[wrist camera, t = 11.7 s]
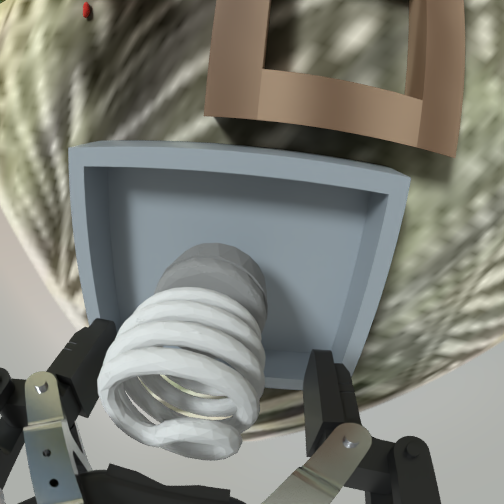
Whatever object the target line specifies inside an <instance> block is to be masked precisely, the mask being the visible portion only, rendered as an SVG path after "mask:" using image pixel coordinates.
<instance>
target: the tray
mask: <svg viewBox="0 0 504 504" xmlns="http://www.w3.org/2000/svg"><path fill="white" fill-rule="evenodd" d="M68 149H69V184H70V200H71V213H72V223H73V233H74V241H75V249H76V256H77V263H78V269H79V276H80V282H81V287H82V293H83V298H84V303H85V308H86V313H87V317H88V322H89V326H90V325H91V324H92V322H93V321H94V320H95V319H96V318H101V319H106V320H111V321H114V323H115V326H116V331H117V334H118V331H119V329H120V328H121V326H122V325H123V323H124V322H125V321H126V320H127V319H128V318H129V317H130V316H131V315H132V314H133V313H134V311H135V310H136V309H137V307H138V306H139V305H140V304H142V303H143V302H144V301H145V300H147V299H148V298H150V297H151V296H153V295H154V292H155V289H156V287H157V284H158V282H159V280H160V278H161V277H162V275H163V273H164V271H165V269H166V268H167V267H169V266H170V265H171V264H172V263H173V262H174V261H175V260H176V259H177V258H178V257H179V256H180V255H181V254H182V253H183V252H185V251H186V250H188V249H190V248H191V247H193V246H196V245H199V244H202V243H222V244H226V245H230V246H234V247H236V248H238V249H239V250H241V251H243V252H244V253H246V254H247V255H249V256H250V257H251V258H252V259H253V260H254V261H255V262H256V263H257V264H258V266H259V267H260V269H261V271H262V273H263V275H264V277H265V283H266V290H267V302H268V314H267V320H266V322H265V327H264V329H263V332H262V334H261V338H262V340H261V343H262V346H263V348H264V351H265V357H266V358H265V367H264V371H263V372H264V376H265V388H277V389H291V390H303V381H304V375H305V372H306V368H307V365H308V361H309V357H310V354H311V351H312V349H321V350H331V351H332V354H333V359H334V363H343V364H344V366H345V367H346V368H347V370H348V371H349V372H350V375H351V377H352V375H353V372H354V370H355V367H356V365H357V362H358V360H359V357H360V355H361V352H362V350H363V347H364V344H365V342H366V339H367V336H368V333H369V331H370V328H371V325H372V322H373V319H374V316H375V313H376V310H377V307H378V304H379V301H380V298H381V295H382V292H383V289H384V285H385V282H386V279H387V275H388V272H389V269H390V265H391V262H392V258H393V254H394V251H395V247H396V243H397V239H398V235H399V231H400V227H401V223H402V219H403V214H404V210H405V206H406V201H407V196H408V191H409V186H410V181H411V177H408V176H406V175H404V174H402V173H400V172H398V171H396V170H394V169H392V168H390V167H387V166H383V165H378V164H373V163H367V162H362V161H356V160H351V159H345V158H339V157H333V156H326V155H320V154H313V153H306V152H298V151H290V150H282V149H274V148H264V147H254V146H244V145H232V144H219V143H203V142H183V141H147V140H115V141H97V142H92V143H87V144H83V145H78V146H74V147H69V148H68ZM163 347H165V348H176V349H181V348H180V347H178V346H163ZM215 360H217V361H220V362H222V363H224V364H226V365H227V366H229V367H231V368H233V367H232V366H231V365H230V364H228V363H227V362H226V361H224V360H222V359H215ZM233 369H234V368H233ZM234 370H236V369H234ZM236 371H237V370H236Z"/></svg>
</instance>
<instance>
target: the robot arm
mask: <svg viewBox="0 0 504 504" xmlns="http://www.w3.org/2000/svg"><path fill="white" fill-rule="evenodd" d="M116 336H117V331H116V326H115V323H114V321H111V320H106V319H101V318H96V319H95V320H94V321H93V322H92V324H91V325H90V326H89V327H88V328H87V327H84V328H82V329H81V330H79V331H78V332H76V333H75V334H74V335H73V337H72V338H71V339H70V341H69V343H67V344H66V346H65V348H64V349H63V350H62V351H61V352H60V354H59V355H58V356H57V358H56V359H55V360H54V362H53V363H52V364H51V366H50V367H49V368H48V370H47V371H46V372H44V371H42V372H37V373H34V374H33V375H31V376H30V377H29V378H28V379H27V380H22V379H11V377H10V375H9V373H8V371H6V370H5V369H3V368H0V414H1V416H2V417H1V419H0V504H6V503H5V502H4V494H3V491H2V490H3V487H4V485H5V483H6V481H7V478H8V476H9V474H10V472H11V470H12V467H13V465H14V463H15V461H16V459H17V457H18V455H19V453H20V450H21V449H22V446H23V445H24V443H25V447H26V453H27V459H28V465H29V469H30V475H31V480H32V484H33V488H34V493H35V496H34V497H32V498H30V499H28V500H25V501H23V502H21V503H18V504H246V503H244V502H242V501H240V500H238V499H235V498H233V497H230V490H228V489H220V488H213V487H206V486H200V485H193V486H166V485H163V484H161V483H159V482H157V481H155V480H152V479H150V478H149V477H147V476H145V475H143V474H141V473H139V472H137V471H133V470H130V469H126V468H123V467H120V466H117V465H113V464H109V467H108V469H107V470H94V471H93V470H92V468H91V466H90V464H89V462H88V459H87V456H86V453H85V450H84V447H83V443H82V440H81V437H80V433H79V430H78V426H77V423H76V419H77V417H78V415H81V416H83V417H86V418H88V417H89V415H90V413H91V411H92V409H93V408H94V406H95V404H96V401H97V400H98V398H99V394H98V384H97V379H98V377H99V374H100V371H101V368H102V366H103V361H104V359H105V356H106V353H107V350H108V349H109V347H110V346H111V344H112V343H113V342H114V341H115V338H116ZM303 400H304V416H305V433H306V451H307V452H306V453H307V457H311V458H310V459H309V460H308V461H307V462H306V463H305V464H304V465H303V466H302V467H299V468H297V469H296V470H295V471H294V472H293V473H292V474H291V475H290V476H289V477H288V478H287V479H286V480H285V481H284V482H283V483H282V484H281V485H280V486H279V487H278V488H277V489H276V490H275V491H274V492H273V493H272V494H271V495H270V496H269V497H268V498H267V499H266V500H265V501H264V502H262V503H261V504H330V503H331V502H332V500H333V499H334V498H335V496H336V495H337V494H338V493H339V491H340V489H341V488H342V487H343V486H345V487H349V488H354V489H359V490H363V491H365V501H366V504H441V501H440V496H439V491H438V486H437V482H436V477H435V472H434V469H433V464H432V460H431V456H430V452H429V448H428V446H427V444H426V443H425V442H424V441H422V440H421V439H420V438H417V437H414V436H406V437H403V438H401V439H399V440H398V441H397V442H396V443H393V442H389V441H384V440H380V439H376V438H374V437H372V436H371V435H370V433H369V431H368V430H367V429H366V428H364V427H363V426H362V424H361V420H360V416H359V411H358V406H357V402H356V397H355V393H354V388H353V385H352V379H351V375H350V372H349V371H348V370H347V368H346V367H345V366H344V364H343V363H334V359H333V354H332V351H331V350H321V349H312V351H311V354H310V357H309V361H308V365H307V368H306V372H305V375H304V381H303Z"/></svg>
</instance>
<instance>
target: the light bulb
mask: <svg viewBox="0 0 504 504" xmlns="http://www.w3.org/2000/svg"><path fill="white" fill-rule="evenodd" d="M267 314H268V302H267V290H266V283H265V277H264V275H263V273H262V271H261V269H260V267H259V266H258V264H257V263H256V262H255V261H254V260H253V259H252V258H251V257H250V256H249V255H247V254H246V253H244V252H243V251H241V250H239V249H238V248H236V247H234V246H230V245H226V244H222V243H202V244H199V245H196V246H193V247H191V248H190V249H188V250H186V251H185V252H183V253H182V254H181V255H180V256H179V257H178V258H177V259H176V260H175V261H174V262H173V263H172V264H171V265H170V266H169V267H167V268H166V269H165V271H164V273H163V275H162V277H161V278H160V280H159V282H158V284H157V287H156V289H155V292H154V295H153V296H151V297H150V298H148V299H147V300H145V301H144V302H143V303H142V304H140V305H139V306H138V307H137V309H136V310H135V311H134V313H133V314H132V315H131V316H130V317H129V318H128V319H127V320H126V321H125V322H124V323H123V325H122V326H121V328H120V329H119V331H118V334H117V336H116V338H115V341H114V342H113V343H112V344H111V346H110V347H109V349H108V350H107V353H106V356H105V359H104V361H103V366H102V368H101V371H100V374H99V377H98V379H97V384H98V394H99V397H100V399H101V402H102V404H103V407H104V409H105V411H106V412H107V414H108V415H109V417H110V418H111V419H112V421H113V422H114V423H115V424H116V426H117V427H118V428H120V429H121V430H122V431H123V432H125V433H126V434H127V435H128V436H130V437H131V438H133V439H135V440H137V441H138V442H140V443H142V444H145V445H148V446H153V447H161V448H163V449H165V450H168V451H170V452H173V453H176V454H179V455H182V456H185V457H188V458H194V459H201V460H220V459H226V458H228V457H230V456H232V455H234V454H236V453H237V452H238V450H239V448H240V446H241V444H242V437H241V435H240V433H242V432H244V431H245V430H247V429H249V428H250V427H251V426H252V425H253V424H254V423H255V421H256V420H257V418H258V415H259V412H260V403H259V399H260V397H261V396H262V394H263V391H264V387H265V376H264V372H263V371H264V367H265V358H266V357H265V351H264V348H263V346H262V343H261V340H262V338H261V334H262V332H263V329H264V327H265V322H266V320H267ZM163 346H178V347H180V348H181V349H176V348H165V347H163ZM215 359H222V360H224V361H226V362H227V363H228V364H230V365H231V366H232V367H233V368H234V369H236V370H237V371H236V370H234V369H233V368H231V367H229V366H227V365H226V364H224V363H222V362H220V361H217V360H215ZM159 374H161V375H165V376H167V377H168V378H169V379H170V380H172V381H174V382H175V383H177V384H179V385H180V386H182V387H184V388H186V389H189V390H191V391H194V392H196V393H201V394H206V395H212V396H227V397H228V398H224V399H205V398H200V397H196V396H193V395H190V394H187V393H185V392H182V391H181V390H179V389H177V388H175V387H174V386H172V385H171V384H170V383H168V382H167V381H166V380H165V379H163V378H162V377H161V376H160V375H159ZM137 376H138V377H139V378H140V379H141V380H142V382H143V383H144V384H145V385H146V386H147V387H148V388H149V389H150V390H151V391H152V392H153V393H154V394H156V395H157V396H158V397H160V398H161V399H162V400H164V401H166V402H167V403H169V404H171V405H173V406H174V407H176V408H179V409H182V410H184V411H187V412H190V413H193V414H197V415H202V416H207V417H227V416H231V415H233V416H232V417H230V418H227V419H223V420H206V419H199V418H193V417H188V416H185V415H182V414H180V413H177V412H175V411H173V410H171V409H169V408H167V407H166V406H165V405H163V404H162V403H161V402H159V401H158V400H157V399H155V398H154V397H153V396H152V395H151V394H150V393H149V392H148V391H147V390H146V389H145V387H144V386H143V385H142V384H141V382H140V380H139V379H138V377H137ZM125 391H126V392H127V394H128V395H129V396H130V397H131V399H132V400H133V401H134V402H135V403H136V404H137V405H138V406H139V407H140V408H142V409H143V410H144V411H145V412H146V413H147V414H149V415H150V416H151V417H153V418H154V419H156V420H157V421H159V422H161V424H159V425H155V424H153V423H152V422H150V421H149V420H148V419H147V418H146V417H145V416H144V415H143V414H141V413H140V412H139V411H138V410H137V408H136V407H135V406H134V405H133V404H132V402H131V401H130V399H129V398H128V396H127V394H126V392H125Z"/></svg>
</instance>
